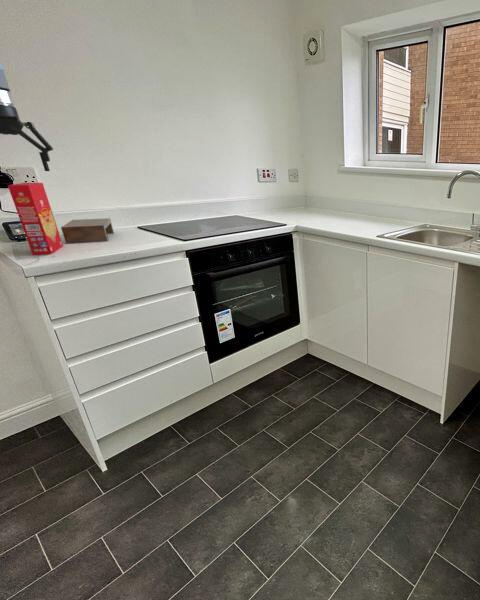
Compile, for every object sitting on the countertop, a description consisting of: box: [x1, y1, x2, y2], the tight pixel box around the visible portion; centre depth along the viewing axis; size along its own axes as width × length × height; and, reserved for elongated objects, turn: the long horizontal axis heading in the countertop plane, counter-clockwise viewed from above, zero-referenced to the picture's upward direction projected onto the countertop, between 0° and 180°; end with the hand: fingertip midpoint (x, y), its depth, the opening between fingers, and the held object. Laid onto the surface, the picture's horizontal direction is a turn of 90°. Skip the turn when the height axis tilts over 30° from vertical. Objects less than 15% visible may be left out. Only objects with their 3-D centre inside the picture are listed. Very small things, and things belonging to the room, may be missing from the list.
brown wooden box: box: [60, 217, 115, 245], centre depth 160 cm, size 14×22×7 cm, turn 31°
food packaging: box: [7, 182, 64, 256], centre depth 133 cm, size 15×5×25 cm, turn 29°
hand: (22, 170), depth 127 cm, fingers open, 13 cm apart
